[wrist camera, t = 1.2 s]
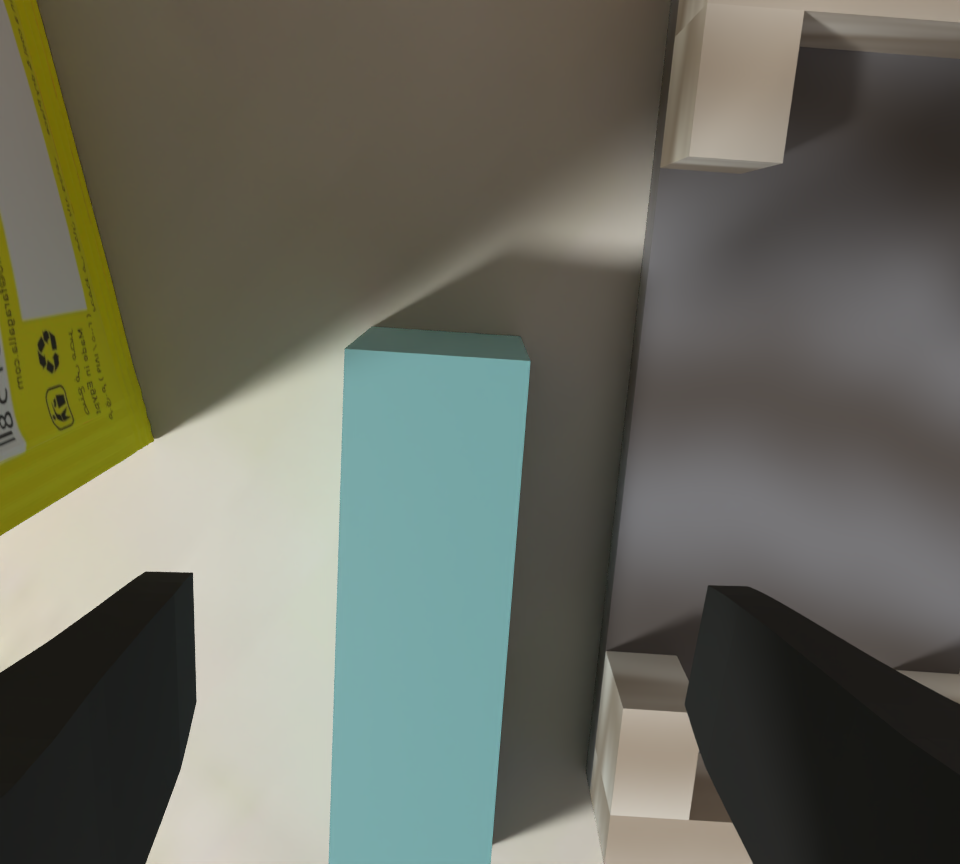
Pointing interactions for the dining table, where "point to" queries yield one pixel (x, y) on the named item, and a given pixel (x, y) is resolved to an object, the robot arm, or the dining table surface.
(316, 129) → the dining table surface
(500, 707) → the slat
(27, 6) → the food package
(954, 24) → the cradle
